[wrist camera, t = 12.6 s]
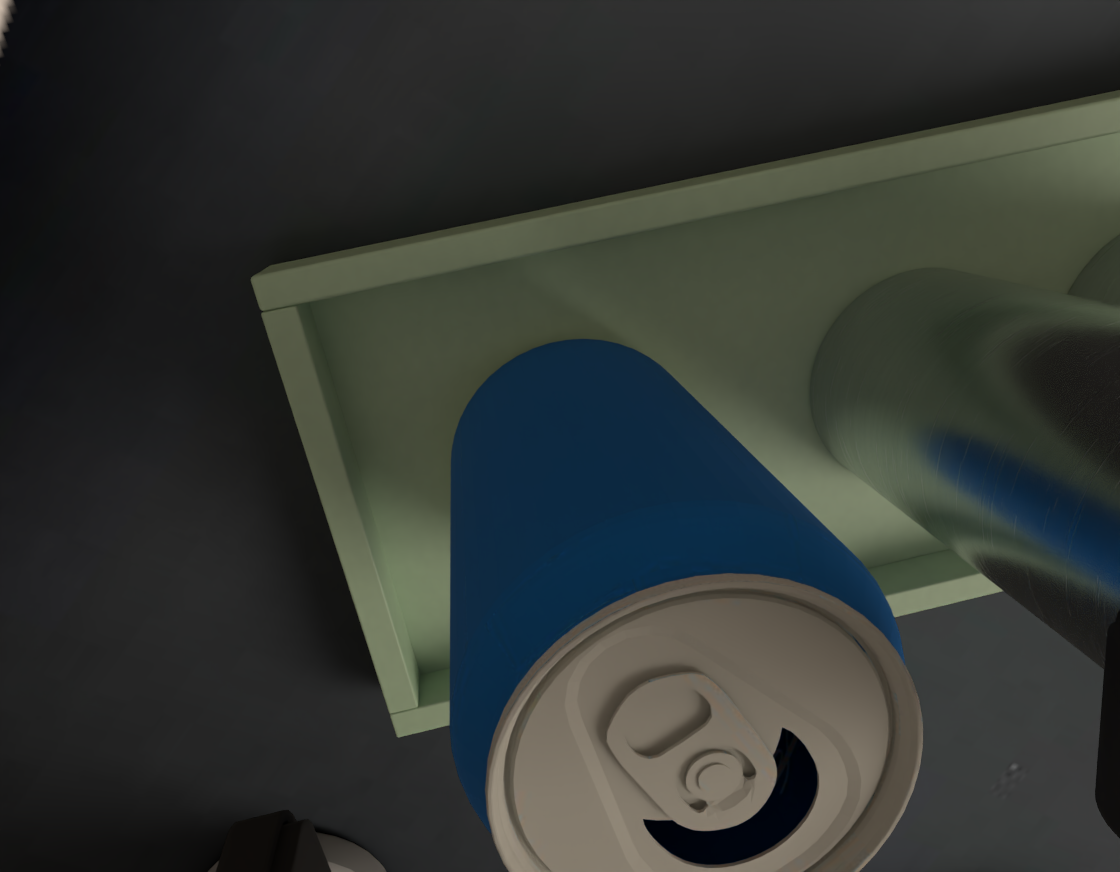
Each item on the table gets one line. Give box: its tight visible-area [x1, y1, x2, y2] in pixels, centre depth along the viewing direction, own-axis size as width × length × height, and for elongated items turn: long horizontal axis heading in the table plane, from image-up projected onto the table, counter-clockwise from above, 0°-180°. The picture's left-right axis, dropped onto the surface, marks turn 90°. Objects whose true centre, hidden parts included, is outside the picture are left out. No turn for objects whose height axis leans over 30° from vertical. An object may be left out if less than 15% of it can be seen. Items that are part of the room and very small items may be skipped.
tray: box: [251, 90, 1120, 737], centre depth 21 cm, size 13×28×2 cm, turn 101°
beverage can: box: [450, 339, 923, 872], centre depth 16 cm, size 6×6×12 cm
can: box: [810, 268, 1120, 669], centre depth 16 cm, size 6×6×12 cm
